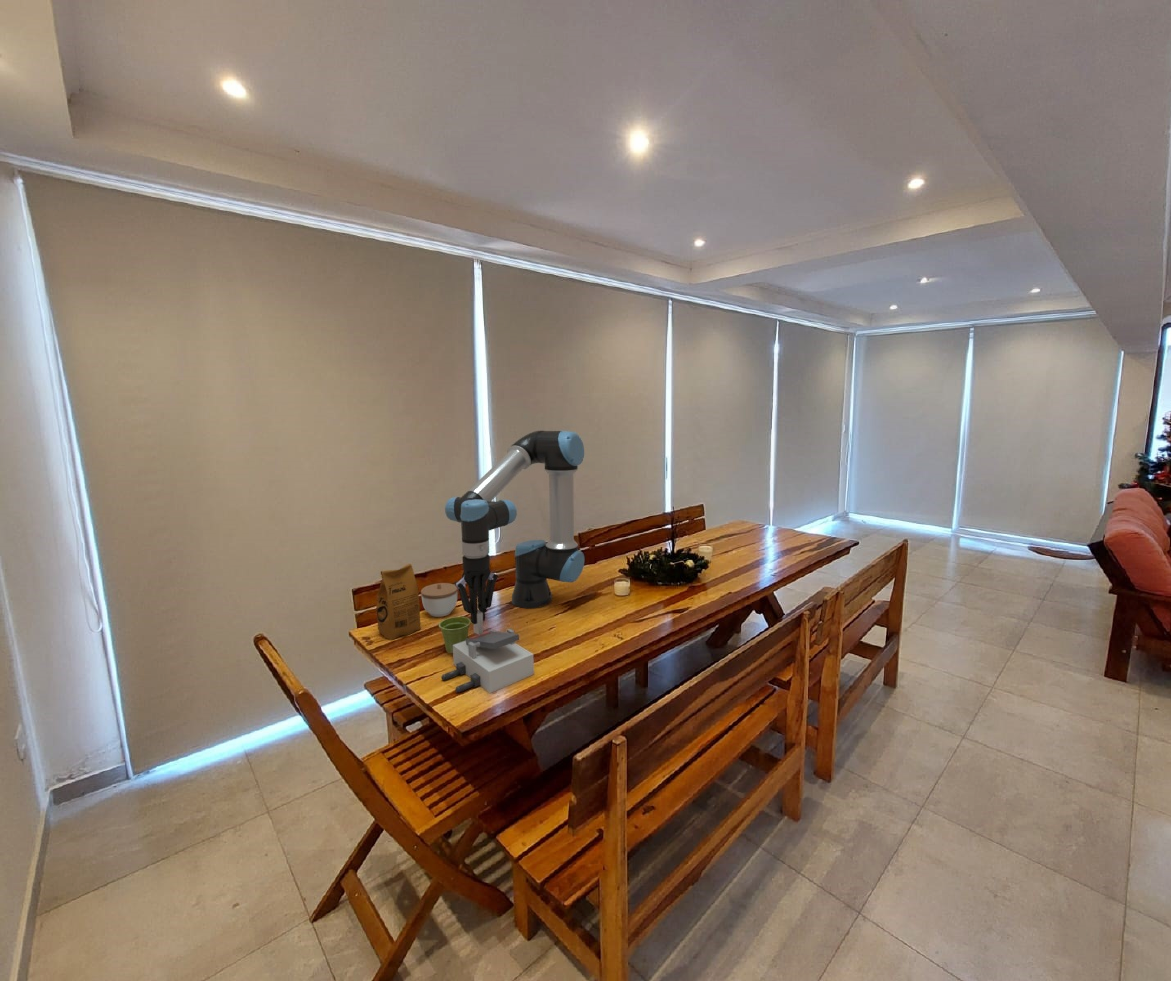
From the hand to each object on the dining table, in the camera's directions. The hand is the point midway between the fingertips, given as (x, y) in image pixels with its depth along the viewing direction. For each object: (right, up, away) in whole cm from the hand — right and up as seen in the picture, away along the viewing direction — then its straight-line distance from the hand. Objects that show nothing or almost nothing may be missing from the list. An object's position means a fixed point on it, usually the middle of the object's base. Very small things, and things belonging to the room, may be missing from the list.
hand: (478, 632), depth 148 cm
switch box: (+2, -10, -6) cm, 12 cm away
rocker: (+5, 0, -5) cm, 7 cm away
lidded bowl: (-21, -3, +36) cm, 42 cm away
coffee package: (-30, -6, +21) cm, 37 cm away
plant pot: (-9, -8, +8) cm, 14 cm away
